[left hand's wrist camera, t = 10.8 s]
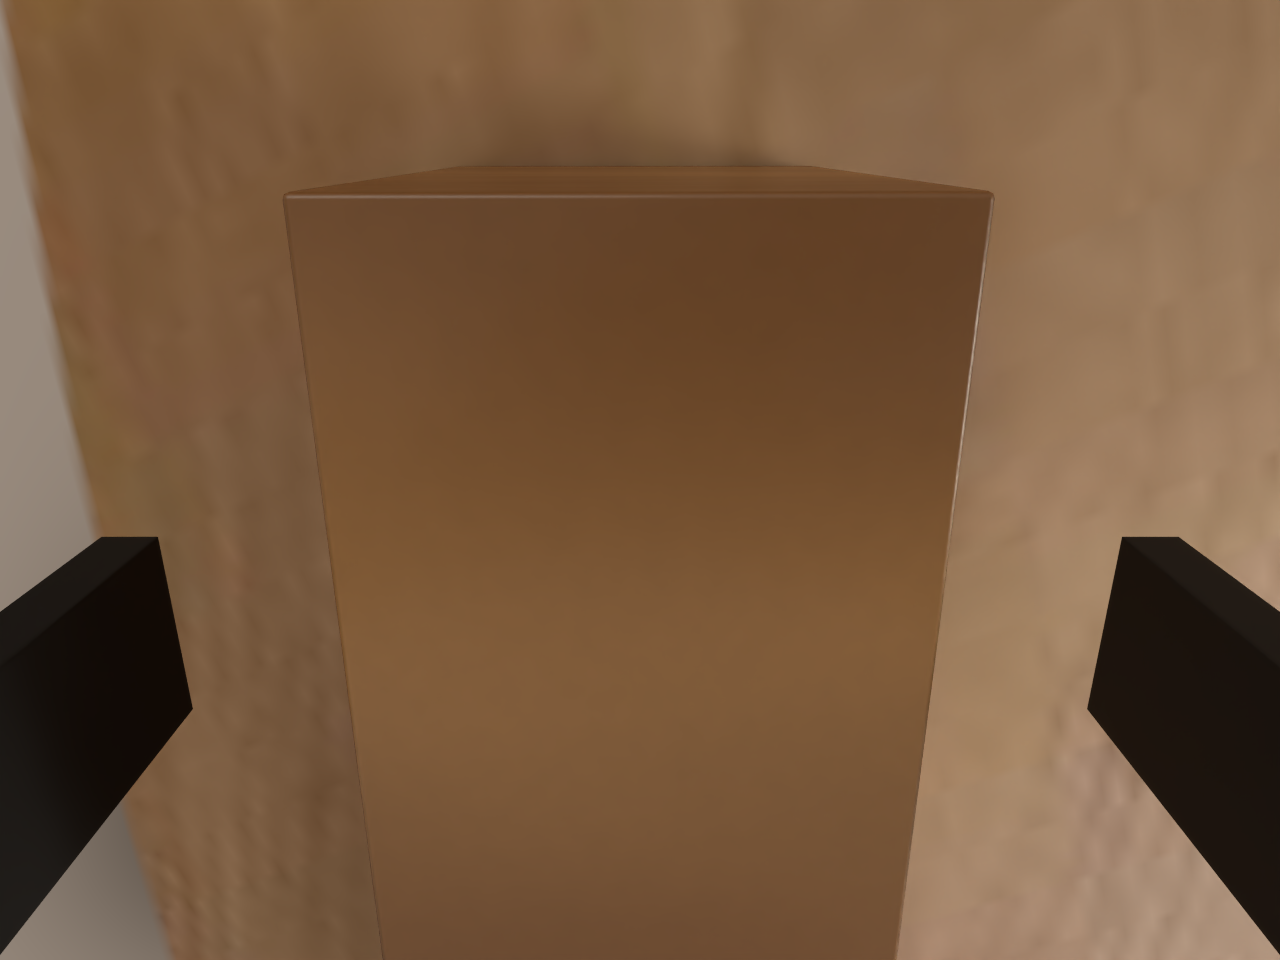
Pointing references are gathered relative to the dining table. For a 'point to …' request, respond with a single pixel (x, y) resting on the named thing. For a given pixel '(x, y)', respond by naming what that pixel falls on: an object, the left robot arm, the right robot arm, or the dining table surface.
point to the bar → (639, 544)
